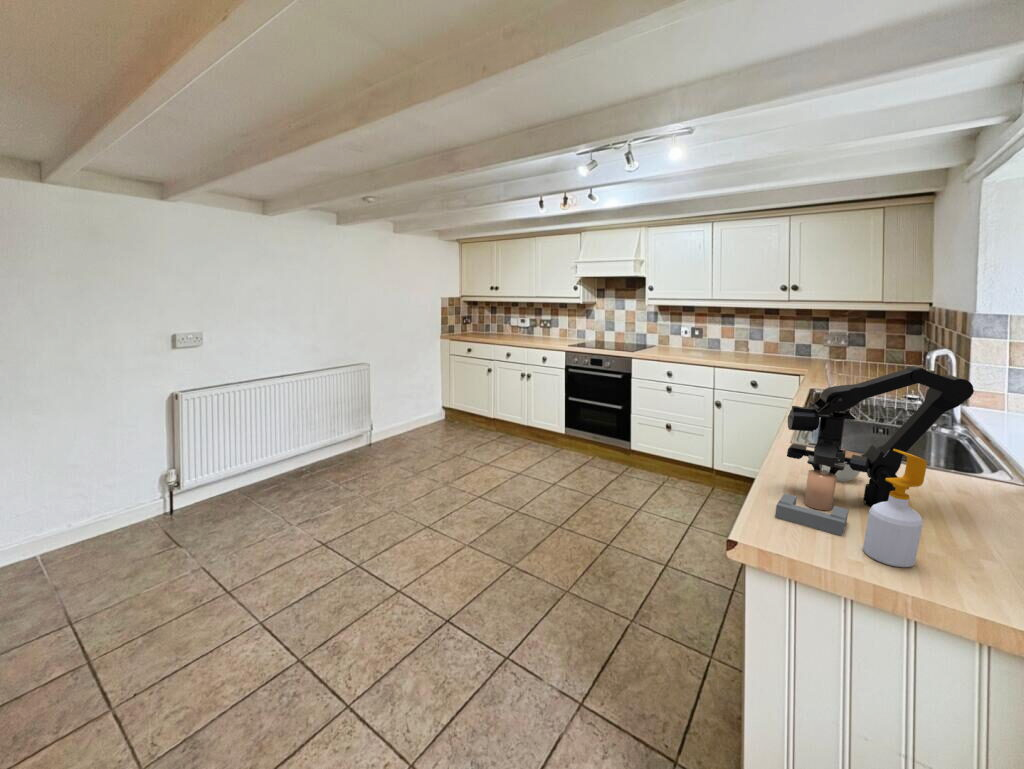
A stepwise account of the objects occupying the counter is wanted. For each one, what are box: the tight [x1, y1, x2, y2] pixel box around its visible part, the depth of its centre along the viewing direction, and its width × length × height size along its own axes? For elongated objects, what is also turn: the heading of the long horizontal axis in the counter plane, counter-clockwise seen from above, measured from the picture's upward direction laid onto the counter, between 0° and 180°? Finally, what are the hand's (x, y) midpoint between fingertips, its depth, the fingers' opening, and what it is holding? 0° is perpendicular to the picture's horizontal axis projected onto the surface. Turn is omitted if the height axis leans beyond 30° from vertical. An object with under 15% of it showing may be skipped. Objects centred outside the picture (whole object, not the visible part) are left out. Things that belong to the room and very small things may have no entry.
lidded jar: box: [822, 448, 861, 483], centre depth 145 cm, size 11×11×9 cm
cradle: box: [774, 492, 849, 537], centre depth 119 cm, size 14×9×4 cm, turn 49°
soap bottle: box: [862, 449, 928, 568], centre depth 101 cm, size 9×9×25 cm
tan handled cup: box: [803, 469, 837, 511], centre depth 128 cm, size 6×10×9 cm, turn 140°
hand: (822, 485), depth 132 cm, fingers closed on tan handled cup
